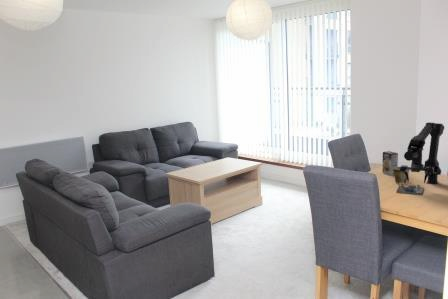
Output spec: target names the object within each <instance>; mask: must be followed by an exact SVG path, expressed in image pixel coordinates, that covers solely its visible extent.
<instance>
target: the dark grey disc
mask: <svg viewBox="0 0 448 299" xmlns="http://www.w3.org/2000/svg"><path fill="white" fill-rule="evenodd" d="M403 186H404V188H407V189H415V188H416V187H417V185H415V184H412V183H409V182H407V183H406V178H403Z"/></svg>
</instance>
